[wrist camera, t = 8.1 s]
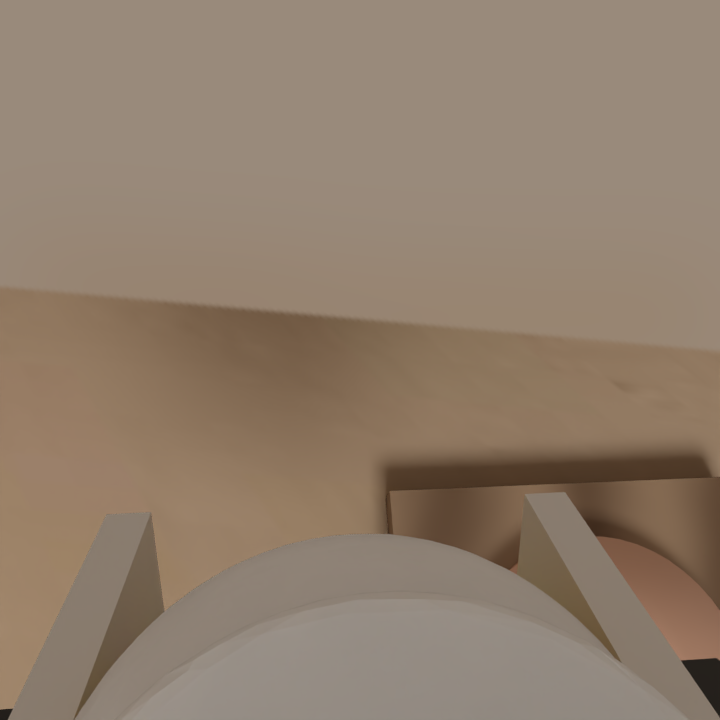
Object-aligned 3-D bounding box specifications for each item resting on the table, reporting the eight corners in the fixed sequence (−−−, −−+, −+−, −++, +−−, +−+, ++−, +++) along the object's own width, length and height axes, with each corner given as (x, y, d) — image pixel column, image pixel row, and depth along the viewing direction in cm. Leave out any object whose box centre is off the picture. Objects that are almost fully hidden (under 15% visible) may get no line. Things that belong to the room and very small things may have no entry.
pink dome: (697, 534, 30) (710, 530, 29) (776, 833, 25) (794, 839, 24) (452, 546, 28) (457, 542, 28) (488, 861, 24) (495, 869, 23)
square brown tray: (716, 484, 32) (734, 476, 31) (833, 897, 26) (862, 910, 24) (385, 498, 31) (389, 490, 29) (419, 941, 24) (426, 958, 23)
